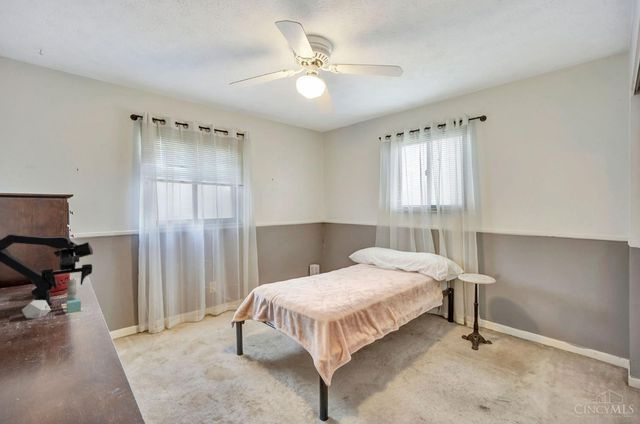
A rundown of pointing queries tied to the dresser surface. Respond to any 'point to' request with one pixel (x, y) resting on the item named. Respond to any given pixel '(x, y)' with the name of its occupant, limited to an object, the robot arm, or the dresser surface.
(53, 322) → the dresser surface
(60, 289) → the plant pot
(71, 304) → the cube
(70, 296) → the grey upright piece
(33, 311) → the die
